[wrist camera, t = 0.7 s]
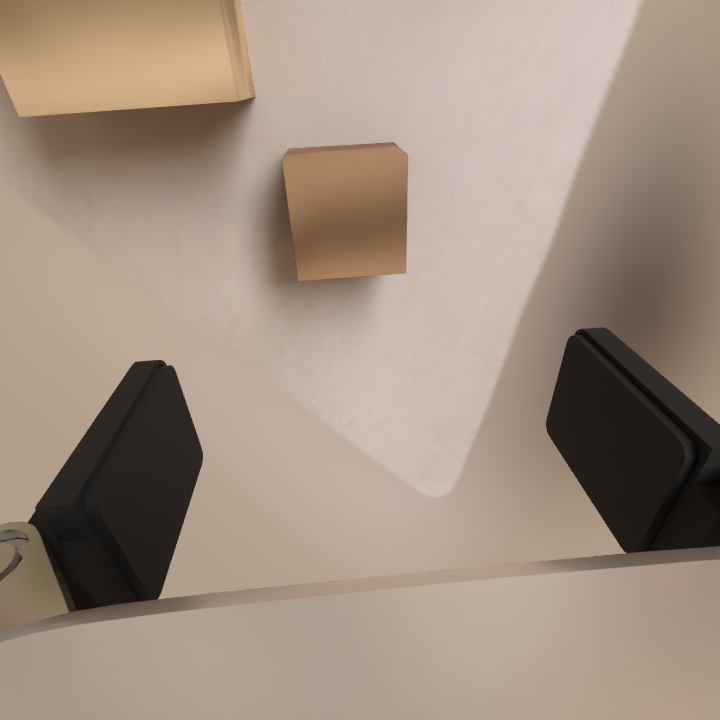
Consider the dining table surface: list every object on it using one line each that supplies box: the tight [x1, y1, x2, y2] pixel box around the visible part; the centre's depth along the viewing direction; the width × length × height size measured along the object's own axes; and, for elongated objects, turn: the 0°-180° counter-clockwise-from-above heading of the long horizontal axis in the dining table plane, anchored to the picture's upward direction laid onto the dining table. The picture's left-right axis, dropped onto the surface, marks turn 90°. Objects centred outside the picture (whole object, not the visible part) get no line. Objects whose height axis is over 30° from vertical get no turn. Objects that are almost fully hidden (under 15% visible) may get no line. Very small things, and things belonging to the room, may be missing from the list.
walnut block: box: [282, 142, 408, 281], centre depth 24 cm, size 6×6×5 cm
